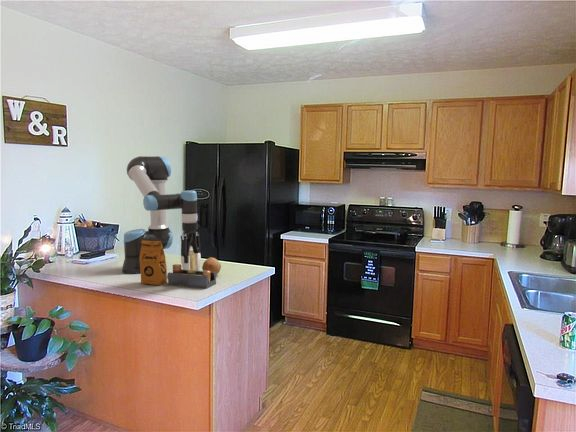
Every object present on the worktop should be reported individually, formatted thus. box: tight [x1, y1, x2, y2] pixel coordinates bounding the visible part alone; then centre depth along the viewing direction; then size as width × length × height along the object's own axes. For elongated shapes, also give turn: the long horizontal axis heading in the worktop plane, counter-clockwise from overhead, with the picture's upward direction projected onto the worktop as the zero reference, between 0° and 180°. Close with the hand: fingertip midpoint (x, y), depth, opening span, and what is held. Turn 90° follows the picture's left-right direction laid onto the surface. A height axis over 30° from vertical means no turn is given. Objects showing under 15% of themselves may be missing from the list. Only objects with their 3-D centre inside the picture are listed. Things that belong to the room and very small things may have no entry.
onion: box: [201, 257, 222, 276], centre depth 229 cm, size 10×10×10 cm
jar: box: [180, 245, 202, 271], centre depth 232 cm, size 11×10×15 cm
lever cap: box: [188, 253, 196, 275], centre depth 212 cm, size 10×5×13 cm, turn 71°
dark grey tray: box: [167, 263, 217, 290], centre depth 212 cm, size 22×9×9 cm, turn 71°
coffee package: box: [139, 241, 168, 286], centre depth 214 cm, size 10×12×22 cm
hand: (191, 267), depth 212 cm, fingers open, 7 cm apart
